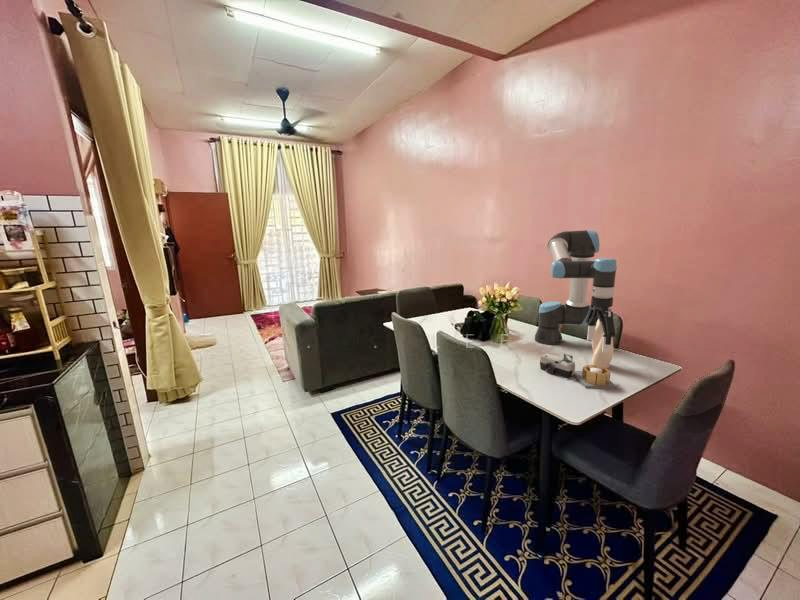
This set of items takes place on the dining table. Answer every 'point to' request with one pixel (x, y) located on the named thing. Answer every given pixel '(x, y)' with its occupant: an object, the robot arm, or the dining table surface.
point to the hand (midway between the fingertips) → (598, 345)
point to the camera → (558, 365)
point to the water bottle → (599, 356)
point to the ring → (596, 375)
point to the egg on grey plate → (579, 376)
